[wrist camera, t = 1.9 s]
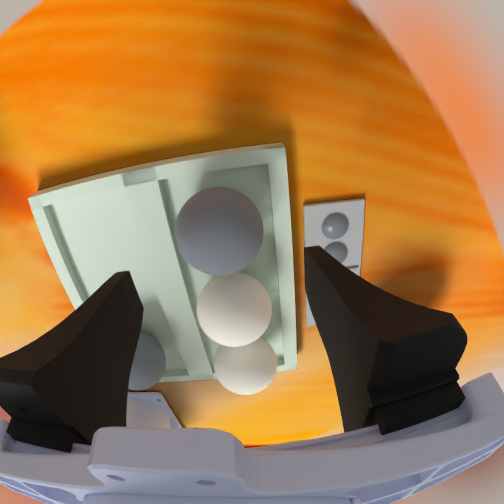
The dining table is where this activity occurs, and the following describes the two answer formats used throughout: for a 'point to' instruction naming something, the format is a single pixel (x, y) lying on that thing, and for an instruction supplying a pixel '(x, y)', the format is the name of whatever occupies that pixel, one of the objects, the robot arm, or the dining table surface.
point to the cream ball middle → (234, 309)
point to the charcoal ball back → (147, 363)
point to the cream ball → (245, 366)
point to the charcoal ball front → (219, 231)
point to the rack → (171, 245)
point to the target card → (335, 233)
